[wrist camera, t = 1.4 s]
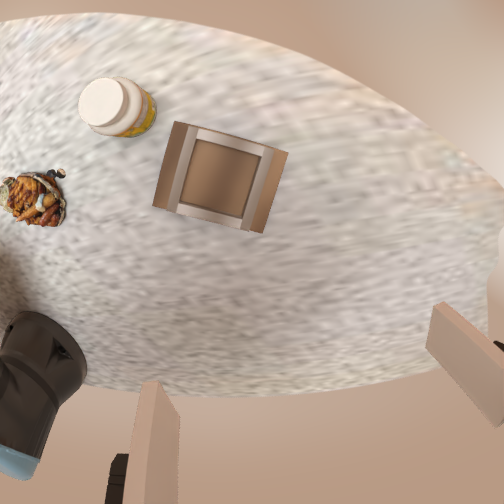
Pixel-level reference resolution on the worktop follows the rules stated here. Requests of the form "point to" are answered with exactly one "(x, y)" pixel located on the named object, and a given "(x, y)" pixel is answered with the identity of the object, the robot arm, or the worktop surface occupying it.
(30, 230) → the worktop surface
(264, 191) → the socket board
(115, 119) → the supplement bottle
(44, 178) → the brown lumpy food piece
